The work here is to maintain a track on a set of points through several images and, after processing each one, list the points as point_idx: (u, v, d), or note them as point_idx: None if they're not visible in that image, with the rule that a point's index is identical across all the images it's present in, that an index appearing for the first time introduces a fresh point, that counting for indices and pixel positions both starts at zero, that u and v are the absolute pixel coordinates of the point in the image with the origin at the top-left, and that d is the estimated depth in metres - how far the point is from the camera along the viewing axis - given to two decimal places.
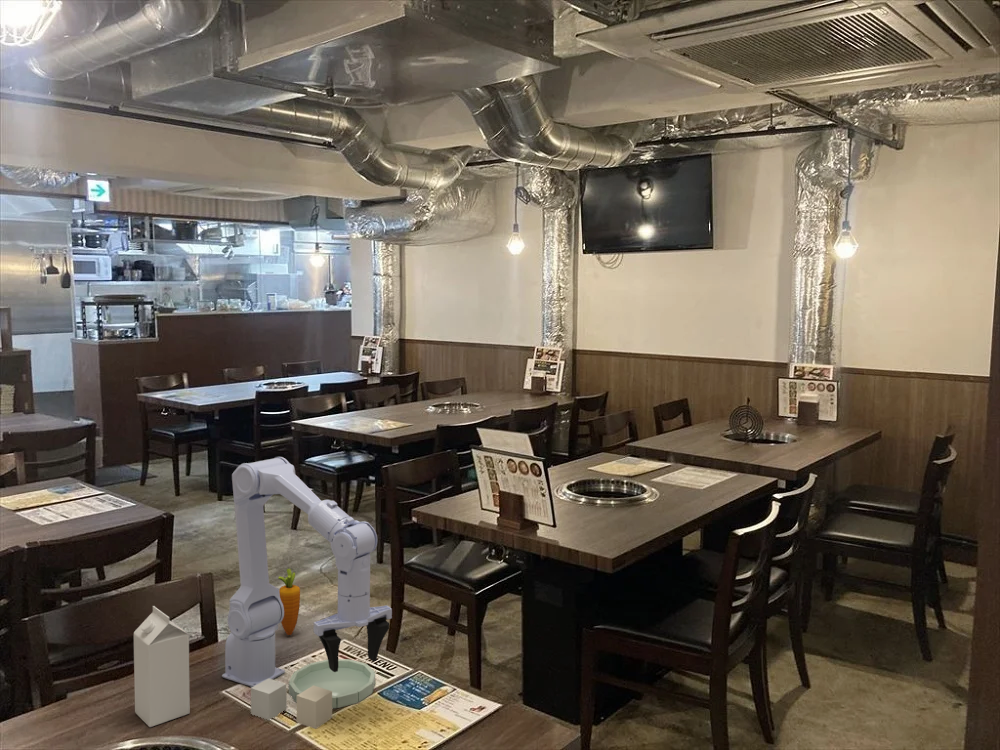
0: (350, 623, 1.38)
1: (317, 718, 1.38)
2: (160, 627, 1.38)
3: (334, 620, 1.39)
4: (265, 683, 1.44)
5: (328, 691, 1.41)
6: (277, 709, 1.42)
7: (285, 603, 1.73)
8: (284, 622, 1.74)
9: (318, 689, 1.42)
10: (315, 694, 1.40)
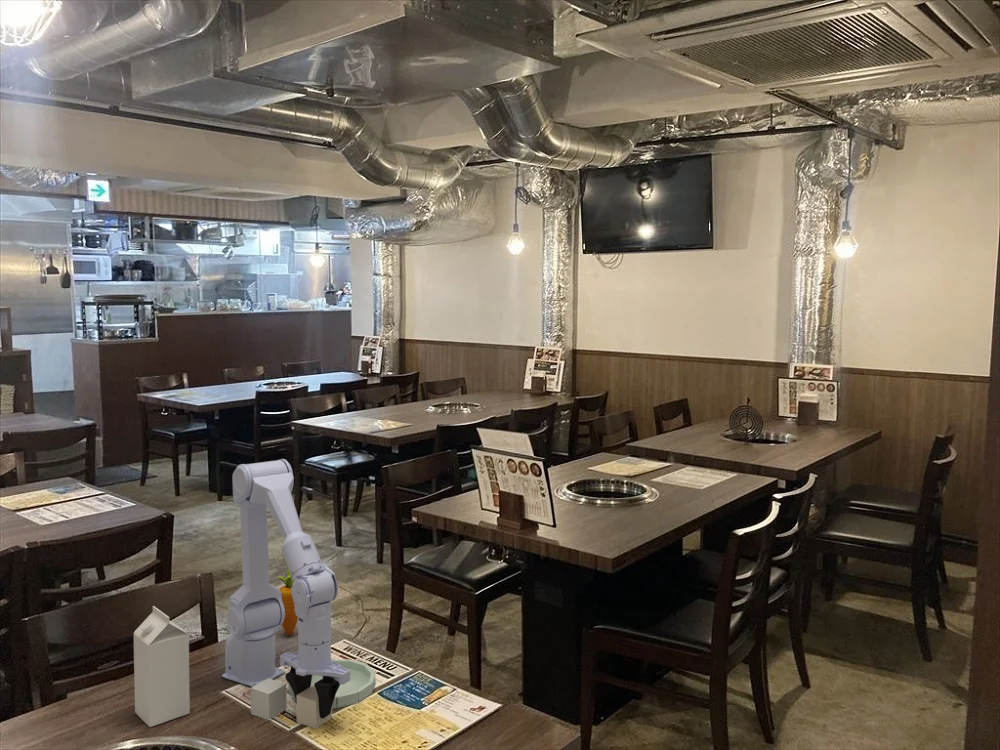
0: (296, 667, 1.38)
1: (317, 718, 1.38)
2: (160, 627, 1.38)
3: (298, 658, 1.41)
4: (265, 683, 1.44)
5: None
6: (277, 709, 1.42)
7: (285, 603, 1.73)
8: (284, 622, 1.74)
9: None
10: (315, 694, 1.40)
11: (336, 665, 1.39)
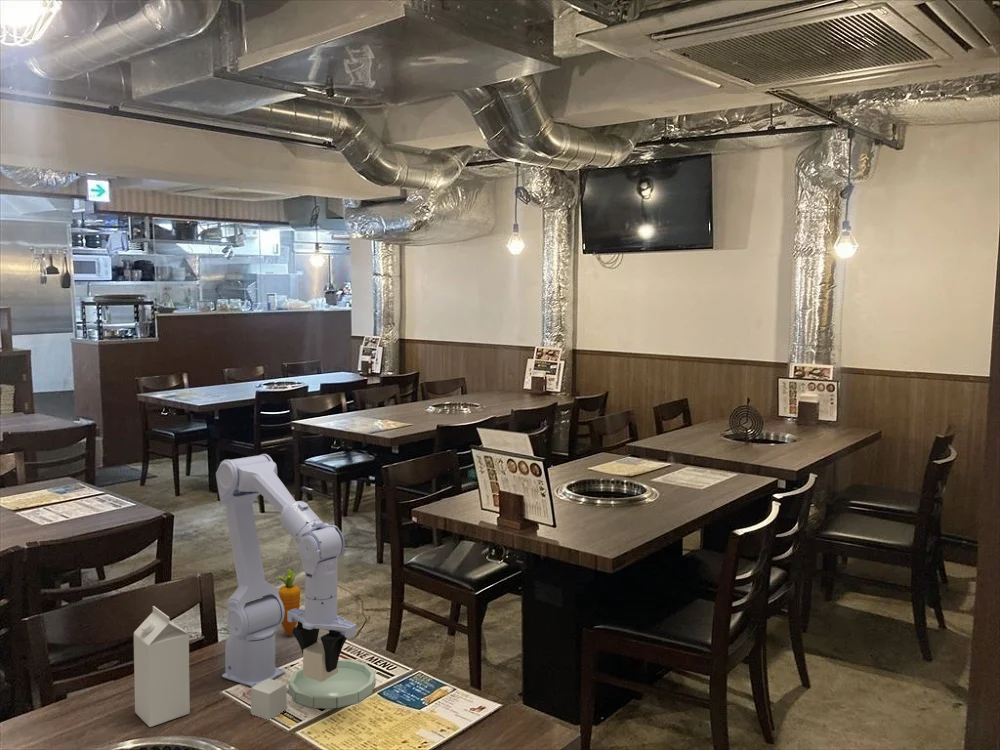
0: (303, 621, 1.41)
1: (324, 671, 1.41)
2: (160, 627, 1.38)
3: (304, 614, 1.44)
4: (265, 683, 1.44)
5: None
6: (277, 709, 1.42)
7: (285, 603, 1.73)
8: (284, 622, 1.74)
9: None
10: (321, 648, 1.42)
11: (342, 620, 1.42)
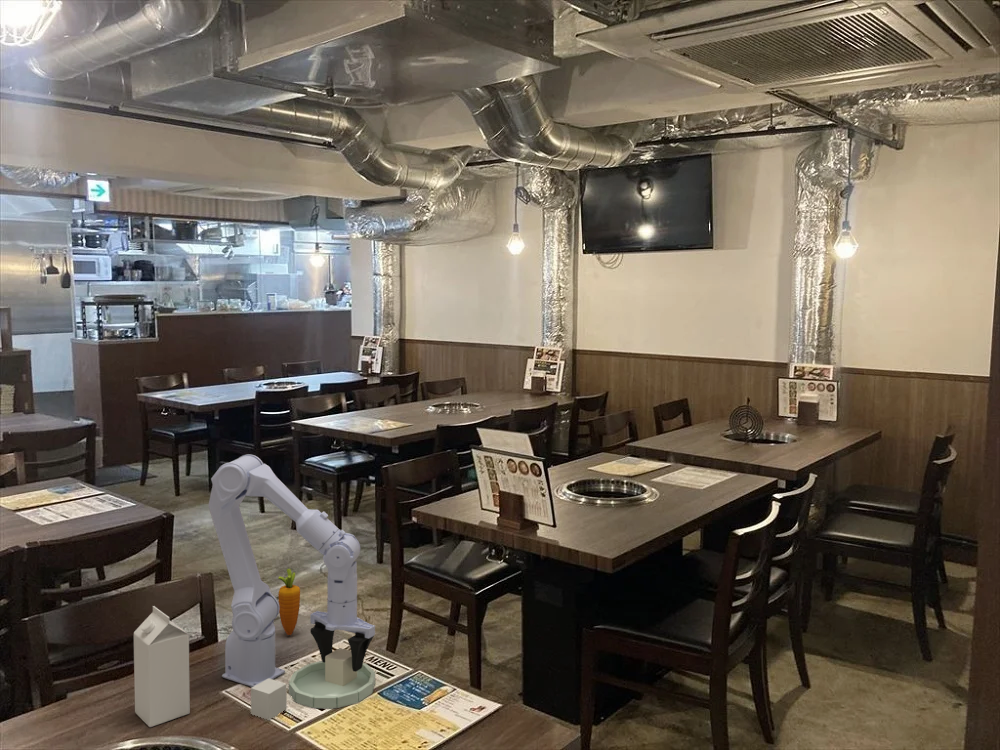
0: (326, 623, 1.53)
1: (344, 676, 1.52)
2: (160, 627, 1.38)
3: (326, 616, 1.56)
4: (265, 683, 1.44)
5: None
6: (277, 709, 1.42)
7: (285, 603, 1.73)
8: (284, 622, 1.74)
9: (345, 651, 1.56)
10: (341, 655, 1.54)
11: (362, 622, 1.54)
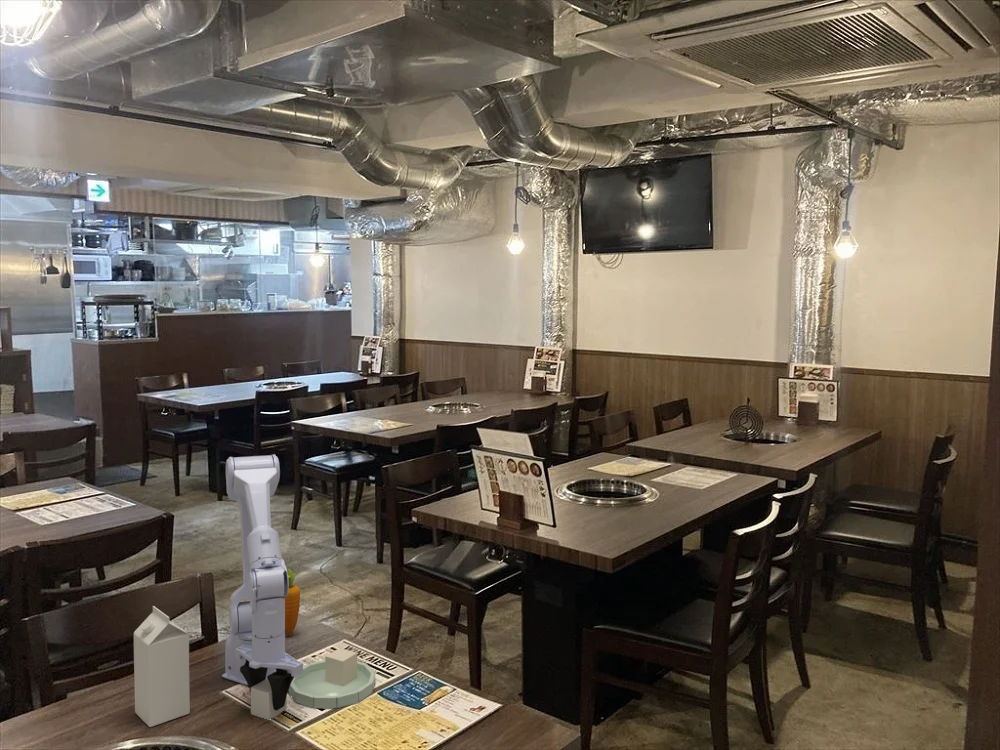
0: (250, 660, 1.41)
1: (344, 676, 1.52)
2: (160, 627, 1.38)
3: None
4: (265, 682, 1.44)
5: (353, 653, 1.55)
6: None
7: (285, 603, 1.73)
8: None
9: (345, 651, 1.56)
10: (341, 655, 1.54)
11: (290, 658, 1.42)
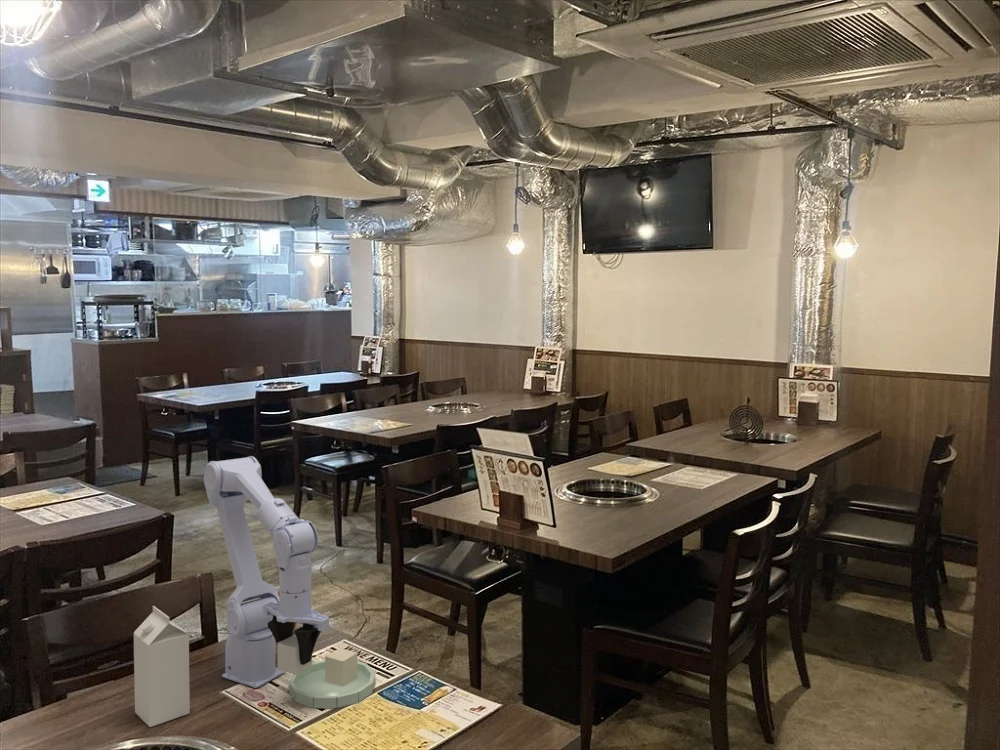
0: (277, 615, 1.44)
1: (344, 676, 1.52)
2: (160, 627, 1.38)
3: (280, 608, 1.47)
4: (291, 638, 1.46)
5: (353, 653, 1.55)
6: None
7: None
8: None
9: (345, 651, 1.56)
10: (341, 655, 1.54)
11: (316, 614, 1.45)
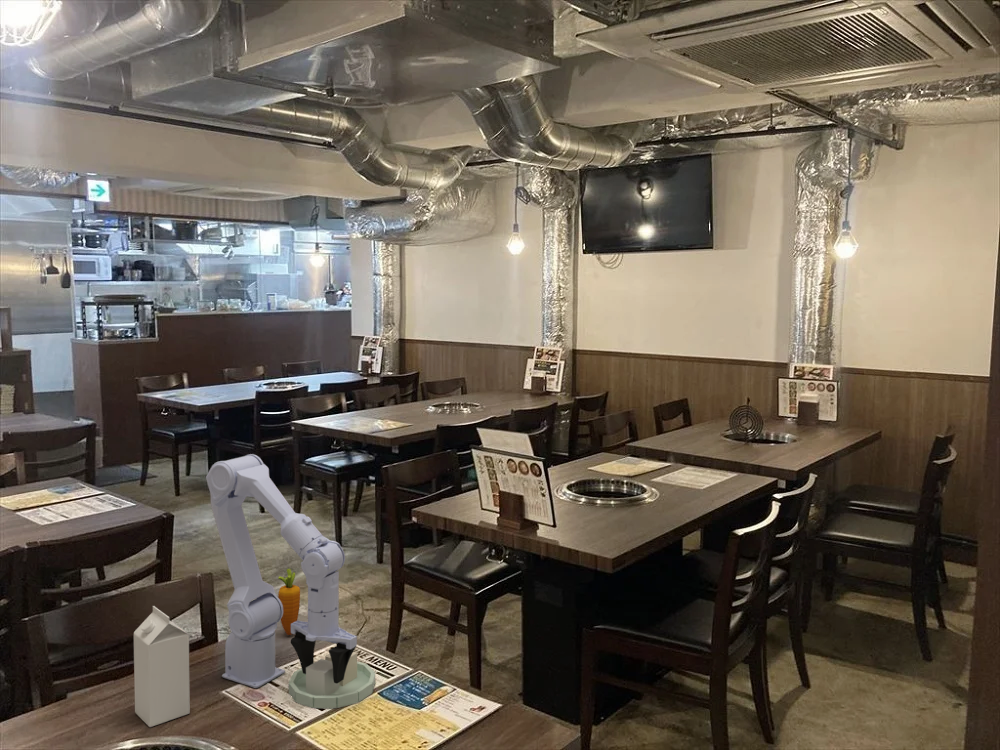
0: (306, 633, 1.48)
1: (344, 676, 1.52)
2: (160, 627, 1.38)
3: (307, 626, 1.51)
4: (318, 663, 1.51)
5: (353, 653, 1.55)
6: (331, 687, 1.49)
7: (285, 603, 1.73)
8: (284, 622, 1.74)
9: None
10: None
11: (343, 632, 1.49)
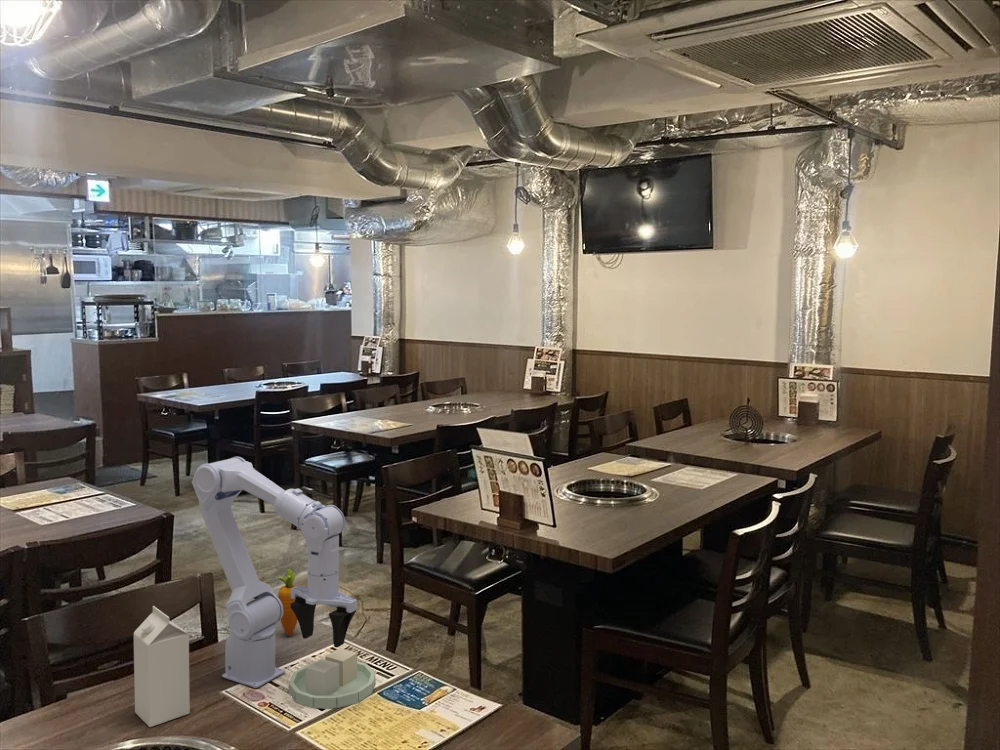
0: (306, 597, 1.47)
1: (344, 676, 1.52)
2: (160, 627, 1.38)
3: (307, 591, 1.50)
4: (318, 663, 1.51)
5: (353, 653, 1.55)
6: (331, 687, 1.49)
7: (285, 603, 1.73)
8: (284, 622, 1.74)
9: (345, 651, 1.56)
10: (341, 655, 1.54)
11: (343, 596, 1.48)
